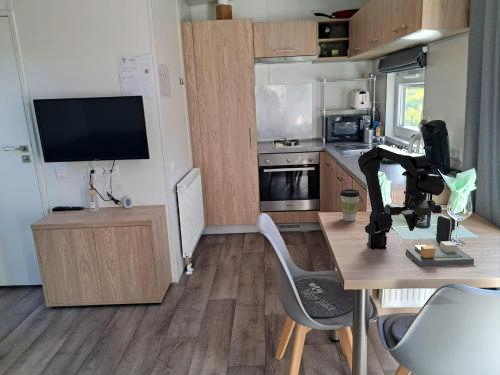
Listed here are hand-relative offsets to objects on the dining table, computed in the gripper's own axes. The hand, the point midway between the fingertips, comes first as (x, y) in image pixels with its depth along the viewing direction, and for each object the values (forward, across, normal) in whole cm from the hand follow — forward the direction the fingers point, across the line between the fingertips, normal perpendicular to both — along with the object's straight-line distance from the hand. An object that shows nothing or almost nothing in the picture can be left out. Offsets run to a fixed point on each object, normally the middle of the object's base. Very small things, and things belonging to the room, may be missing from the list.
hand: (411, 230), depth 138 cm
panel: (+13, +13, +3) cm, 18 cm away
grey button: (+12, +8, +6) cm, 16 cm away
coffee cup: (+13, -6, +54) cm, 56 cm away
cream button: (+11, +18, +6) cm, 22 cm away
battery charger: (+13, +24, +18) cm, 33 cm away
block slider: (+10, +7, 0) cm, 12 cm away
